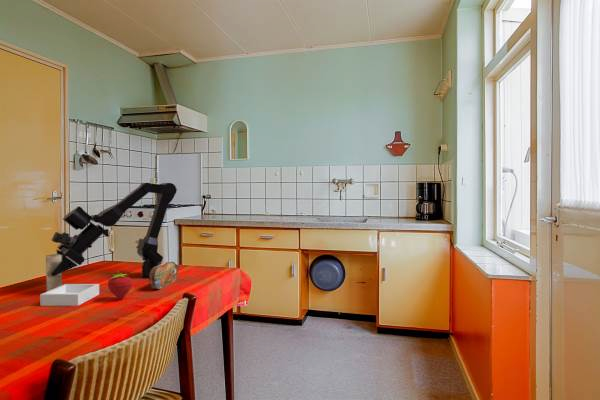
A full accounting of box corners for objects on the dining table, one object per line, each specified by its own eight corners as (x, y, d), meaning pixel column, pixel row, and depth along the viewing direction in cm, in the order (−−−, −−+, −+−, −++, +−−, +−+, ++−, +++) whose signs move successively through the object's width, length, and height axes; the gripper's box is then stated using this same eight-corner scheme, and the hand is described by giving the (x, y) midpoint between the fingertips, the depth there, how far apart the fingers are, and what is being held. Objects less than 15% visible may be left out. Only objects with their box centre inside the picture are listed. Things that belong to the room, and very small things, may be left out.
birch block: (60, 290, 125) (59, 253, 125) (62, 292, 122) (61, 255, 122) (46, 292, 123) (45, 255, 122) (48, 294, 120) (47, 256, 119)
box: (99, 294, 120) (99, 284, 120) (78, 305, 109) (77, 294, 109) (65, 294, 120) (65, 284, 120) (40, 305, 109) (40, 294, 109)
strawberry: (128, 302, 112) (127, 271, 112) (104, 302, 112) (103, 271, 111) (136, 296, 118) (135, 267, 117) (113, 297, 117) (112, 267, 117)
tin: (155, 292, 123) (155, 268, 123) (147, 291, 124) (147, 268, 123) (178, 281, 138) (178, 259, 137) (171, 280, 138) (171, 259, 138)
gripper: (63, 221, 132) (27, 254, 125) (72, 225, 118) (31, 263, 111) (88, 240, 137) (54, 273, 130) (99, 246, 123) (62, 283, 116)
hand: (50, 272), depth 122 cm, fingers open, 9 cm apart
